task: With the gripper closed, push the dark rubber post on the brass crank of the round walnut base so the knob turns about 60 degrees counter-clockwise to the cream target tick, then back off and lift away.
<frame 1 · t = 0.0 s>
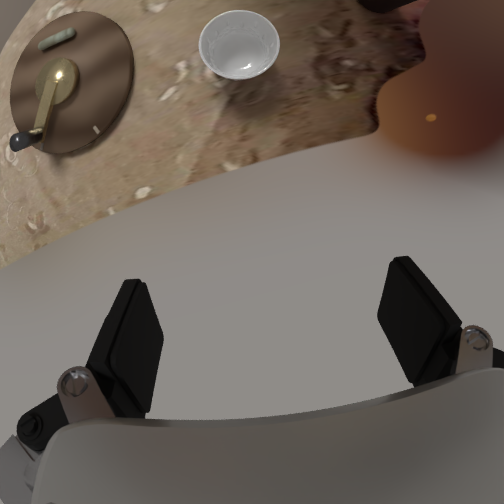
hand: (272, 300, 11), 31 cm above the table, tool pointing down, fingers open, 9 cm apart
white cup: (238, 57, 31), on the table
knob: (39, 101, 26), point 6 cm above the table, hinge at 0.0°
base plate: (67, 81, 29), on the table
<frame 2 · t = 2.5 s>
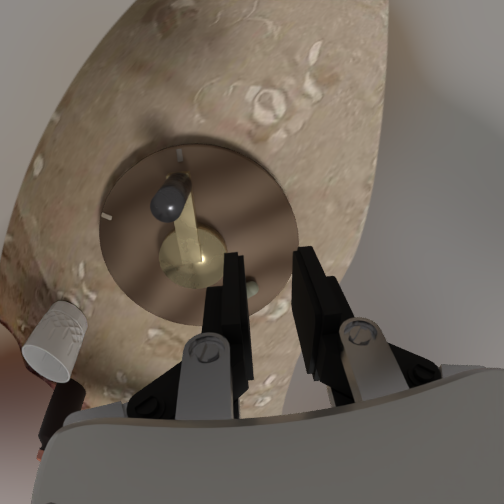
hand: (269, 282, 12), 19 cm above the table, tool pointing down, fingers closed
white cup: (70, 316, 37), on the table
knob: (184, 245, 25), point 6 cm above the table, hinge at 0.0°
base plate: (196, 242, 32), on the table
bottle: (72, 385, 47), on the table
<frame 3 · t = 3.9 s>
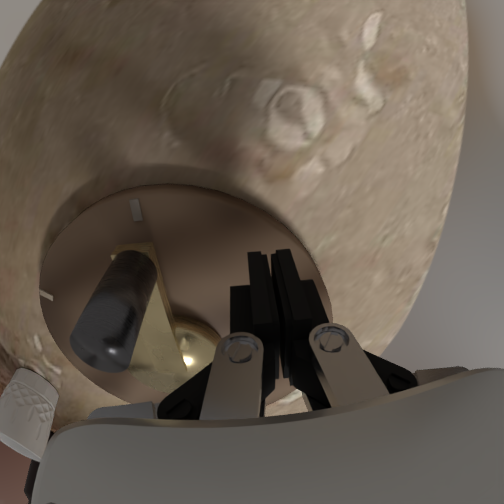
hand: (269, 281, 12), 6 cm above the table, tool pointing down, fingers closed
white cup: (38, 382, 26), on the table
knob: (155, 365, 14), point 6 cm above the table, hinge at 0.0°
base plate: (179, 327, 21), on the table
bottle: (56, 436, 36), on the table
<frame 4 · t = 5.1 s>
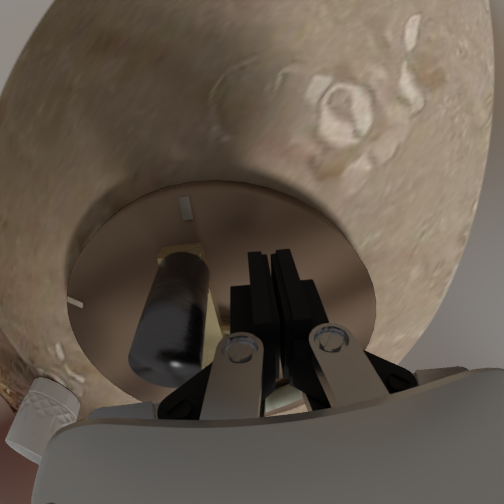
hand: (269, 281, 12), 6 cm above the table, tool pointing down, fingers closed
white cup: (57, 391, 26), on the table
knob: (206, 372, 14), point 6 cm above the table, hinge at 1.7°, touching gripper
base plate: (219, 330, 21), on the table
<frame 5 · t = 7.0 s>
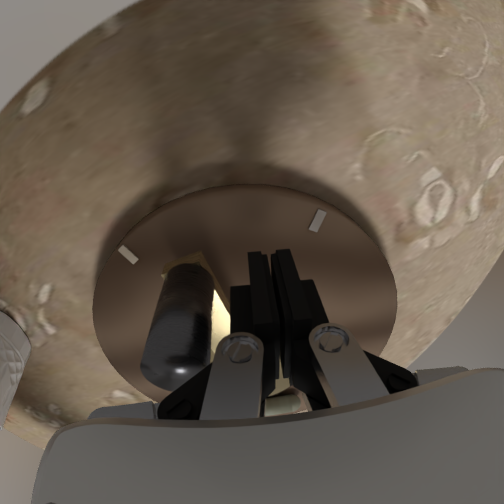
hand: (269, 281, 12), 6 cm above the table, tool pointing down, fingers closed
white cup: (8, 331, 21), on the table
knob: (232, 373, 14), point 6 cm above the table, hinge at 41.4°, touching gripper
base plate: (246, 331, 21), on the table
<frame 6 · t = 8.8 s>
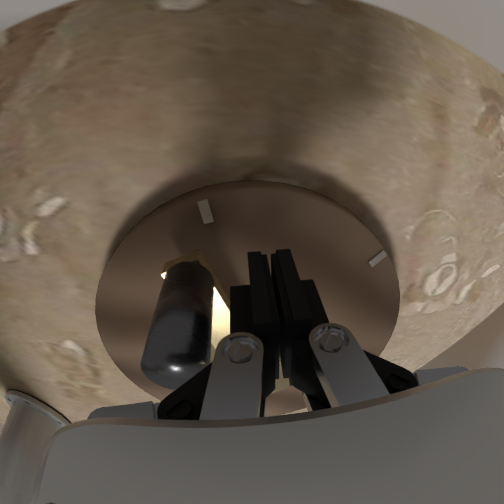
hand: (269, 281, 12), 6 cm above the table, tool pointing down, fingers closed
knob: (235, 370, 15), point 6 cm above the table, hinge at 70.0°, touching gripper
base plate: (249, 328, 21), on the table
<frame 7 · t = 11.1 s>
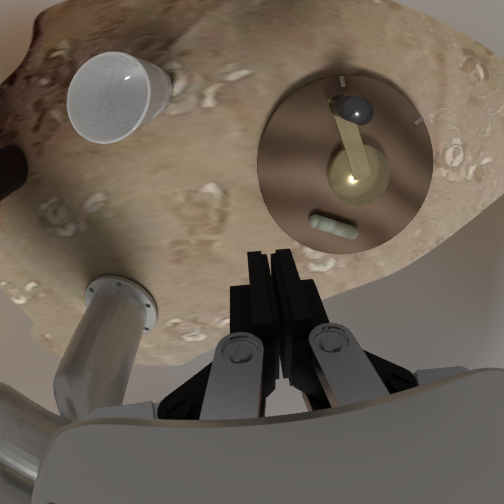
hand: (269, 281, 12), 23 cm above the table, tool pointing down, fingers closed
white cup: (144, 92, 27), on the table
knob: (361, 157, 25), point 6 cm above the table, hinge at 70.0°
base plate: (349, 166, 32), on the table
bottle: (14, 166, 29), on the table
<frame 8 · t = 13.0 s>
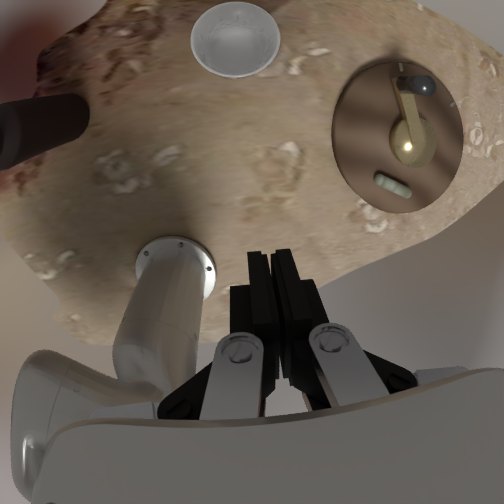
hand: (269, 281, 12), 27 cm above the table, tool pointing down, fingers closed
white cup: (235, 54, 29), on the table
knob: (421, 124, 28), point 6 cm above the table, hinge at 70.0°
base plate: (402, 137, 34), on the table
bottle: (71, 117, 30), on the table
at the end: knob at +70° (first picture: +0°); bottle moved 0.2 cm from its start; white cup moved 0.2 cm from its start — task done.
